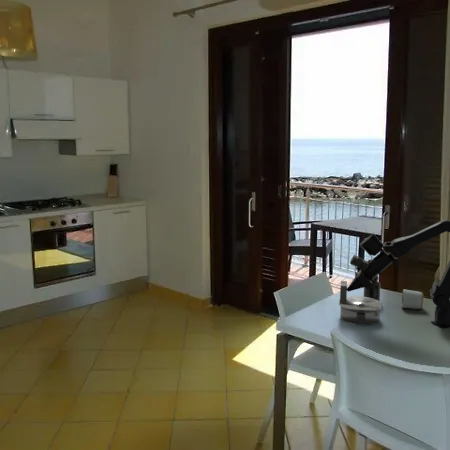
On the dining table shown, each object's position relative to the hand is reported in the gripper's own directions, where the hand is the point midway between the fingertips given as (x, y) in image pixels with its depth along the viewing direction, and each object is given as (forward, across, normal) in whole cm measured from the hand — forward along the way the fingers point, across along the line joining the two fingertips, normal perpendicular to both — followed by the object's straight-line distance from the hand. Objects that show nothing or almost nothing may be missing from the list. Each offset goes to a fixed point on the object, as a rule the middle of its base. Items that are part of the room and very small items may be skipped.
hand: (347, 290), depth 200 cm
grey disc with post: (0, 0, +7) cm, 7 cm away
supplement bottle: (0, -23, +15) cm, 28 cm away
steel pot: (+4, 0, +11) cm, 12 cm away
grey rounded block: (-11, -20, +26) cm, 35 cm away
